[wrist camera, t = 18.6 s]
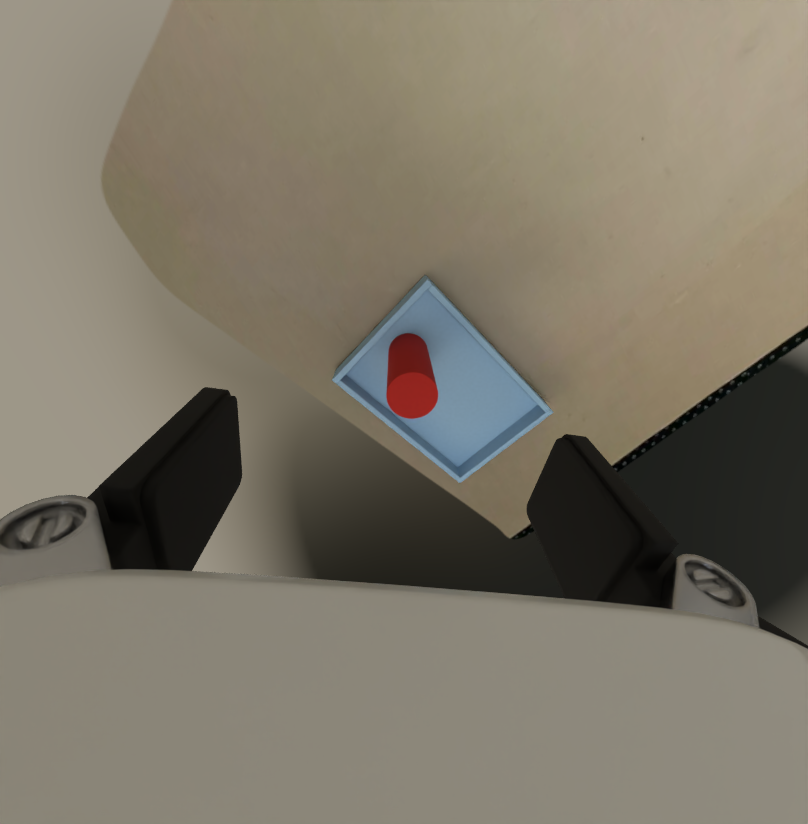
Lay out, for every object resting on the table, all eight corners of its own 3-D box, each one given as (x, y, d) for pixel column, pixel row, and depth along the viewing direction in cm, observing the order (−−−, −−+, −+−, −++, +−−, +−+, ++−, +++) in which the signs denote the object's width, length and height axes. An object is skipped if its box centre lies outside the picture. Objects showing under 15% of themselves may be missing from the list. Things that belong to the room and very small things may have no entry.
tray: (335, 369, 38) (331, 380, 35) (425, 274, 33) (427, 279, 31) (456, 468, 44) (459, 483, 42) (543, 400, 40) (553, 412, 38)
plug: (386, 367, 37) (383, 415, 28) (391, 330, 35) (390, 368, 26) (423, 373, 37) (432, 421, 28) (431, 336, 35) (443, 376, 27)
